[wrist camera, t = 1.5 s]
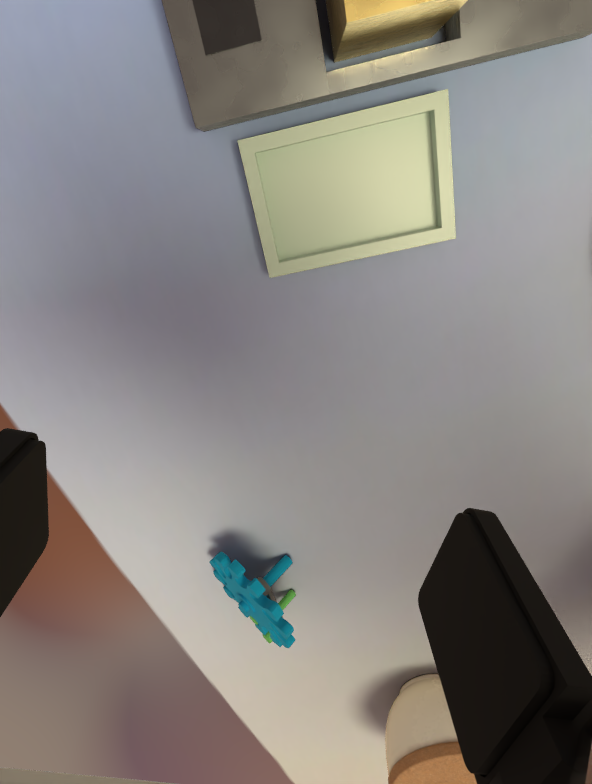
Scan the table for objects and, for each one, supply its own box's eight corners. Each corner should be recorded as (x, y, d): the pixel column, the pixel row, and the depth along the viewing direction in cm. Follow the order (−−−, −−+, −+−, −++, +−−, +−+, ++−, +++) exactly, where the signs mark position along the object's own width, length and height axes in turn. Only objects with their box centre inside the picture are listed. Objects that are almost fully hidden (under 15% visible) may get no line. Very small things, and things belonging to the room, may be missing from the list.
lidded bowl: (356, 680, 50) (370, 804, 40) (462, 644, 48) (505, 767, 38) (402, 735, 55) (425, 858, 45) (501, 704, 52) (549, 829, 42)
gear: (190, 544, 39) (266, 610, 33) (240, 500, 42) (319, 553, 36) (227, 612, 45) (297, 679, 39) (268, 569, 48) (339, 625, 42)
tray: (439, 93, 26) (448, 89, 25) (448, 235, 29) (455, 238, 28) (240, 142, 27) (237, 140, 26) (270, 273, 31) (269, 277, 29)
